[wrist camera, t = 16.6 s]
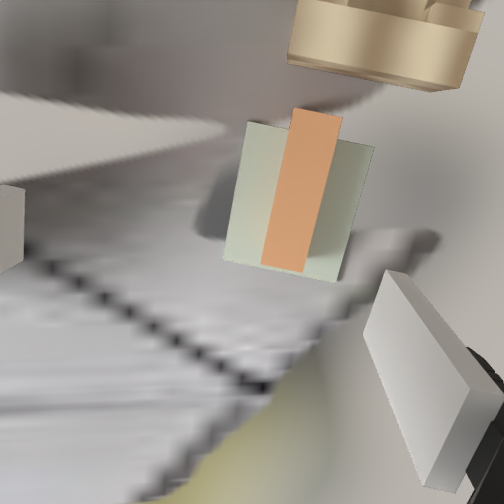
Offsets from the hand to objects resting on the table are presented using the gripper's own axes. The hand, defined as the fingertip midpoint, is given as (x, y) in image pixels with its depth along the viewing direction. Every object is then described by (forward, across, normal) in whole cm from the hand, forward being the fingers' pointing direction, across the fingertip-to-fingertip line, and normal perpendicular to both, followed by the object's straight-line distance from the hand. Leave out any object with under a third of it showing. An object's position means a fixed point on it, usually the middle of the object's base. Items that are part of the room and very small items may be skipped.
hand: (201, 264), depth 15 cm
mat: (+26, +5, -3) cm, 27 cm away
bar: (+26, +5, -1) cm, 26 cm away
